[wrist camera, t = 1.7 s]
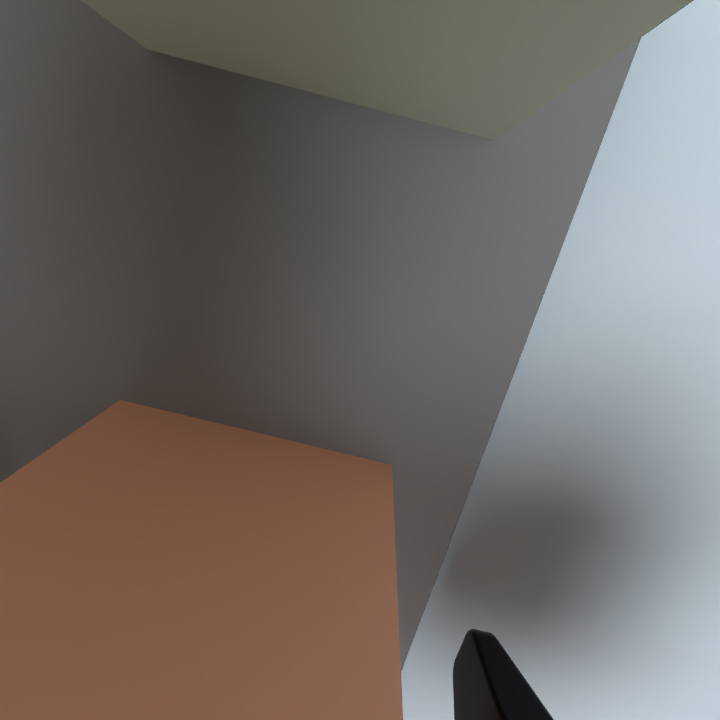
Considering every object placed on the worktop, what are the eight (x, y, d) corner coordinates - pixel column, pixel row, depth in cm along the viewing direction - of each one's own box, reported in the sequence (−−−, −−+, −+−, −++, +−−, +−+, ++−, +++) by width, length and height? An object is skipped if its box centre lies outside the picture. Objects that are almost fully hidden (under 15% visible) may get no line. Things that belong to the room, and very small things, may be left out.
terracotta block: (332, 659, 9) (282, 1107, 5) (105, 608, 9) (-185, 1016, 5) (391, 464, 8) (408, 838, 3) (120, 399, 8) (-297, 687, 3)
